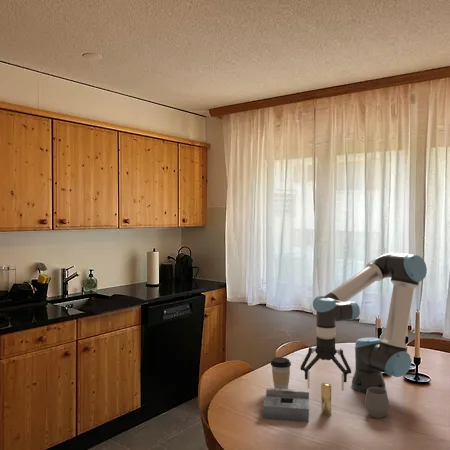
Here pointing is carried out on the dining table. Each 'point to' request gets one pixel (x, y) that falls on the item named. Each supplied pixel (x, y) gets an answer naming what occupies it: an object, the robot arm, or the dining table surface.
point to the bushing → (326, 399)
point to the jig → (286, 404)
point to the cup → (376, 402)
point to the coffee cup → (280, 372)
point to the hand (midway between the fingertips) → (325, 388)
